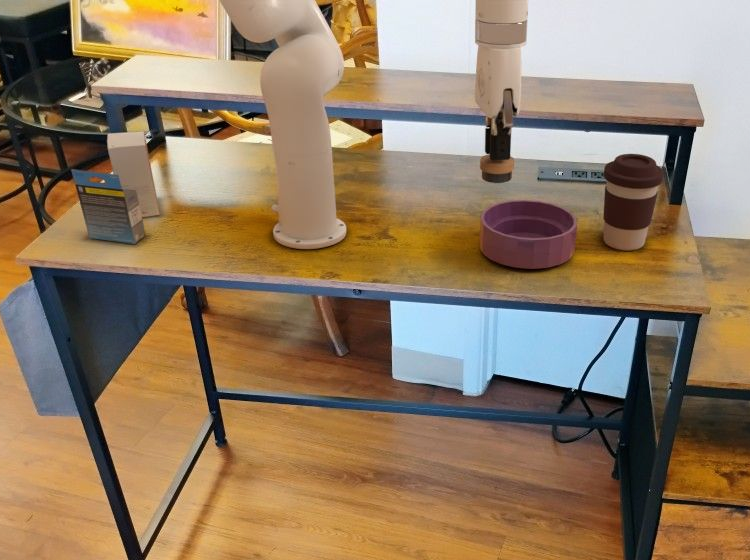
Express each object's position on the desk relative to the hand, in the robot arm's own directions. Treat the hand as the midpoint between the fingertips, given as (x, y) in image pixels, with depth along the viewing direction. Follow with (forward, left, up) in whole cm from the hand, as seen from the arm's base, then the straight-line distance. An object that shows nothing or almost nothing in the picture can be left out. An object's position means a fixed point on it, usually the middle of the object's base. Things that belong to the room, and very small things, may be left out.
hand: (497, 155), depth 131 cm
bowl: (+3, +6, -18) cm, 19 cm away
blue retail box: (-50, -40, -18) cm, 67 cm away
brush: (0, 0, -4) cm, 4 cm away
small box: (-58, -31, -18) cm, 68 cm away
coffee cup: (+13, +21, -18) cm, 30 cm away
